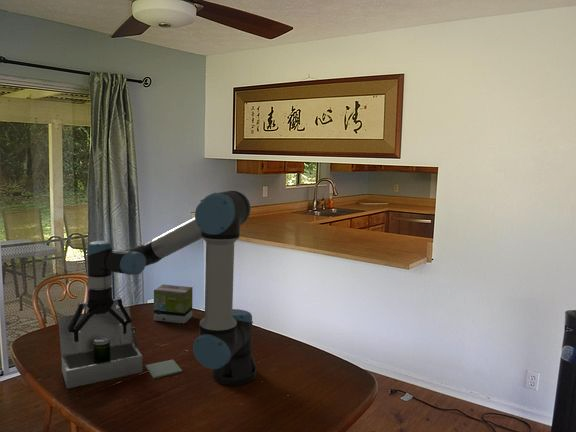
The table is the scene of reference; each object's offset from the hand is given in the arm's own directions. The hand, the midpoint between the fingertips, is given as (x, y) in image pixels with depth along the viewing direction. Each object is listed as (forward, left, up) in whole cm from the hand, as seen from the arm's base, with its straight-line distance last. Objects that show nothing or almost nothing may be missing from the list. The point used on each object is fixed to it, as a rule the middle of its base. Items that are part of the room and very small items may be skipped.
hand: (100, 346), depth 161 cm
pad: (-8, -19, -9) cm, 23 cm away
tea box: (+39, -38, -10) cm, 55 cm away
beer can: (0, 0, -10) cm, 10 cm away
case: (+2, -1, -9) cm, 10 cm away
